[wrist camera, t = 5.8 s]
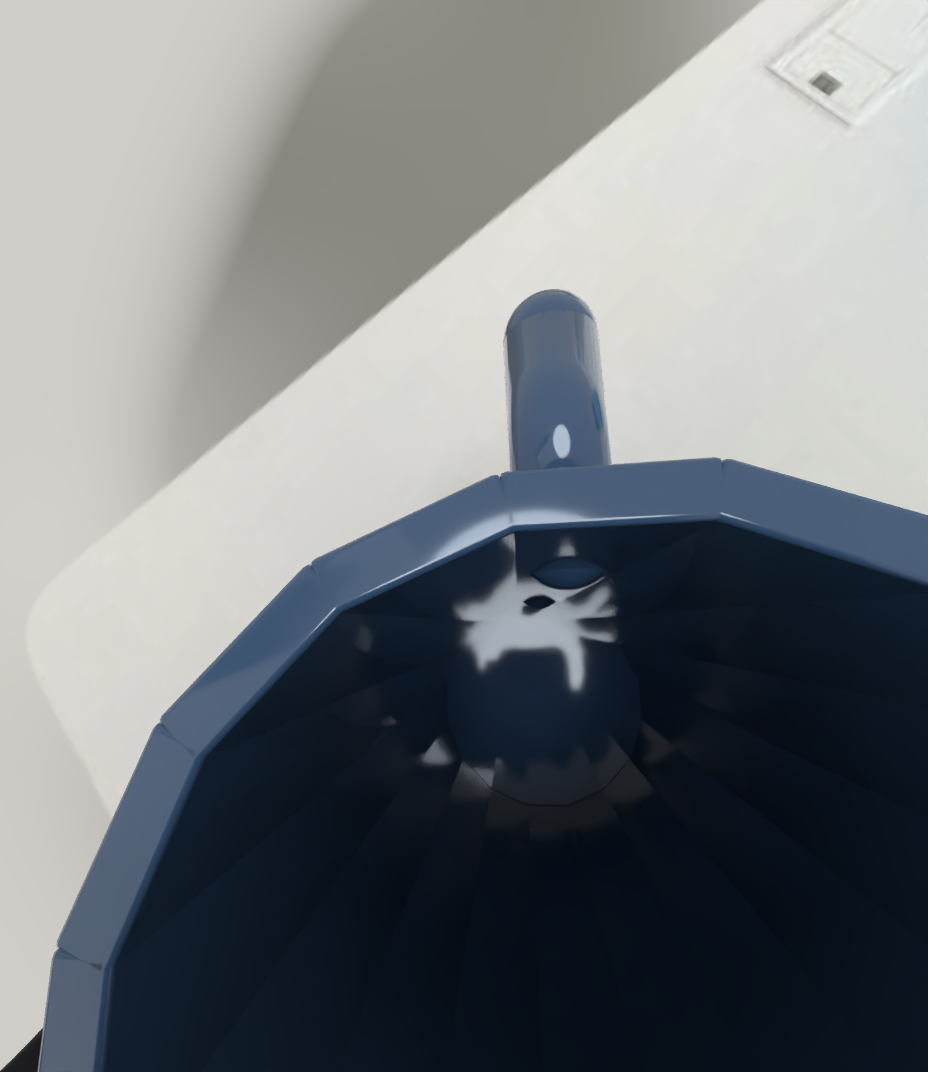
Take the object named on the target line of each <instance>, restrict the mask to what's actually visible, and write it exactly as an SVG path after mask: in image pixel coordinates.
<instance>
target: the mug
mask: <svg viewBox="0 0 928 1072" xmlns="http://www.w3.org/2000/svg"><path fill="white" fill-rule="evenodd" d="M503 347H504V366H505V385H506V405H507V424H508V443H509V462H510V471H508V472H505V473H502V474H501V476H500V477H499V476H498V475H492V476H490V477H487V478H485V479H483V480H481V481H479V482H477V483H475V484H473V485H470V486H468V487H466V488H464V489H462V490H460V491H458V492H456V493H454V494H451V495H449V496H447V497H445V498H443V499H441V500H439V501H437V502H434V503H432V504H430V505H428V506H426V507H424V508H422V509H420V510H417V511H415V512H413V513H411V514H409V515H407V516H405V517H403V518H401V519H398V520H396V521H394V522H392V523H390V524H388V525H386V526H384V527H381V528H379V529H377V530H375V531H373V532H371V533H369V534H367V535H365V536H362V537H360V538H358V539H356V540H354V541H352V542H350V543H348V544H345V545H343V546H341V547H339V548H337V549H335V550H333V551H331V552H329V553H326V554H324V555H322V556H320V557H318V558H316V559H315V560H314V561H313V562H312V565H307V566H305V567H304V568H302V569H301V571H300V572H299V573H298V574H297V575H296V576H295V577H294V578H293V579H292V580H291V581H290V582H289V583H288V584H287V585H286V586H285V587H284V588H283V589H282V590H281V592H280V593H279V594H278V595H277V596H276V597H275V598H274V599H273V600H272V601H271V602H270V603H269V604H268V605H267V606H266V607H265V608H264V609H263V610H262V611H261V612H260V614H259V615H258V616H257V617H256V618H255V619H254V620H253V621H252V622H251V623H250V624H249V625H248V626H247V627H246V628H245V629H244V630H243V631H242V632H241V633H240V634H239V636H238V637H237V638H236V639H235V640H234V641H233V642H232V643H231V644H230V645H229V646H228V647H227V648H226V649H225V650H224V651H223V652H222V653H221V654H220V655H219V656H218V658H217V659H216V660H215V661H214V662H213V663H212V664H211V665H210V666H209V667H208V668H207V669H206V670H205V671H204V672H203V673H202V674H201V675H200V676H199V677H198V678H197V680H196V681H195V682H194V683H193V684H192V685H191V686H190V687H189V688H188V689H187V690H186V691H185V692H184V693H183V694H182V695H181V696H180V697H179V698H178V699H177V701H176V702H175V703H174V704H173V705H172V706H171V707H170V708H169V709H168V710H167V711H166V712H165V713H164V714H163V715H162V717H161V719H160V721H161V722H160V723H158V724H157V725H156V726H155V727H154V729H153V731H152V733H151V735H150V737H149V739H148V742H147V744H146V746H145V748H144V750H143V753H142V755H141V757H140V759H139V761H138V764H137V766H136V768H135V770H134V772H133V775H132V777H131V779H130V781H129V783H128V786H127V788H126V790H125V792H124V794H123V797H122V799H121V801H120V803H119V806H118V808H117V810H116V812H115V814H114V817H113V819H112V821H111V823H110V825H109V828H108V830H107V832H106V834H105V836H104V839H103V841H102V843H101V845H100V847H99V850H98V852H97V855H96V856H95V858H94V861H93V863H92V865H91V867H90V869H89V872H88V874H87V876H86V878H85V881H84V883H83V885H82V887H81V889H80V892H79V894H78V896H77V898H76V900H75V903H74V905H73V907H72V909H71V911H70V914H69V916H68V918H67V920H66V923H65V925H64V927H63V929H62V931H61V933H60V936H59V938H58V940H57V947H58V949H57V951H56V952H55V953H54V956H53V958H52V963H51V970H50V978H49V986H48V994H47V1002H46V1010H45V1018H44V1026H43V1033H42V1041H41V1049H40V1057H39V1065H38V1072H928V515H924V514H921V513H917V512H914V511H910V510H907V509H903V508H900V507H896V506H893V505H889V504H886V503H882V502H879V501H875V500H872V499H868V498H865V497H862V496H858V495H855V494H851V493H848V492H844V491H841V490H837V489H834V488H830V487H827V486H823V485H820V484H816V483H813V482H809V481H806V480H802V479H799V478H795V477H792V476H788V475H785V474H781V473H778V472H774V471H771V470H767V469H764V468H760V467H757V466H753V465H750V464H746V463H743V462H739V461H736V460H732V459H725V460H722V461H721V459H719V458H714V457H712V458H697V459H683V460H668V461H654V462H639V463H625V464H611V454H610V444H609V434H608V424H607V414H606V404H605V394H604V384H603V374H602V364H601V354H600V344H599V334H598V328H597V324H596V319H595V316H594V314H593V312H592V310H591V309H590V307H589V306H588V305H587V304H586V302H585V301H584V300H582V299H581V298H580V297H579V296H577V295H575V294H573V293H571V292H569V291H566V290H560V289H549V290H544V291H540V292H537V293H535V294H533V295H531V296H529V297H528V298H526V299H525V300H524V301H523V302H522V303H521V304H520V305H519V306H518V307H517V308H516V309H515V310H514V312H513V313H512V315H511V317H510V319H509V321H508V323H507V326H506V329H505V333H504V344H503Z"/></svg>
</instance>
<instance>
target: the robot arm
mask: <svg viewBox="0 0 928 1072" xmlns="http://www.w3.org/2000/svg"><path fill="white" fill-rule="evenodd" d="M42 1033H43V1028H42V1029H41V1031H39V1032H38V1034H37V1035H36V1036H35V1037H34V1038H33V1039H32V1040H31V1041H30V1042H29V1043H28V1044H27V1045H26V1046H25V1047H24V1048H23V1049H22V1050H21V1051H20V1052H19V1053H18V1054H17V1055H16V1056H15V1058H13V1059H12V1060H11V1061H10V1062H9V1063H8V1064H7V1065H6V1066H5V1067H4V1068H3V1069H2V1070H1V1071H0V1072H38V1065H39V1057H40V1049H41V1041H42Z"/></svg>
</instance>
